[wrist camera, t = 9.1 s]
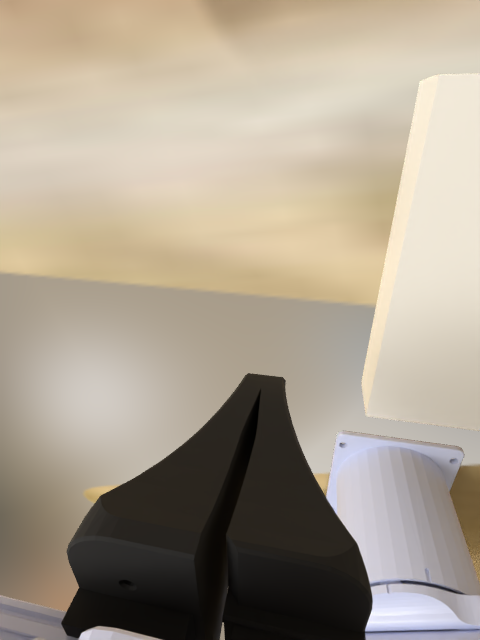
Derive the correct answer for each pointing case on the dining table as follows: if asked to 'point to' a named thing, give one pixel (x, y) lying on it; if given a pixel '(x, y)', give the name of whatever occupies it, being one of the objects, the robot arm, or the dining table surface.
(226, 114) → the dining table surface
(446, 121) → the cream flat block
